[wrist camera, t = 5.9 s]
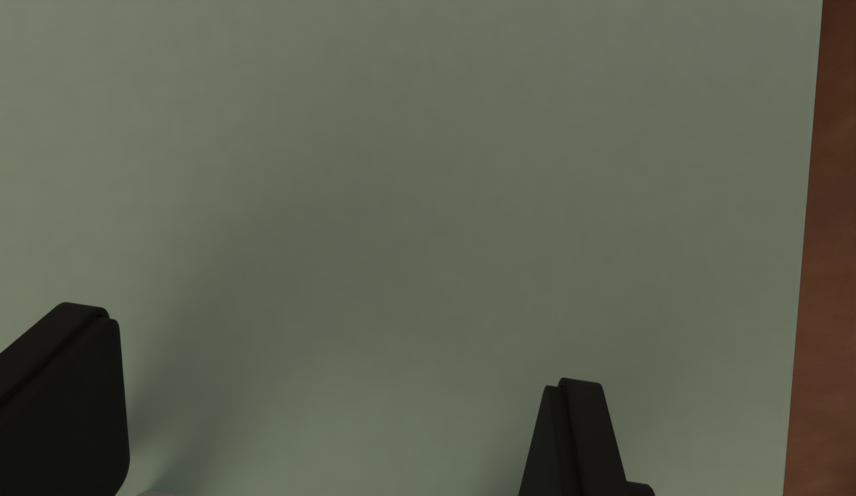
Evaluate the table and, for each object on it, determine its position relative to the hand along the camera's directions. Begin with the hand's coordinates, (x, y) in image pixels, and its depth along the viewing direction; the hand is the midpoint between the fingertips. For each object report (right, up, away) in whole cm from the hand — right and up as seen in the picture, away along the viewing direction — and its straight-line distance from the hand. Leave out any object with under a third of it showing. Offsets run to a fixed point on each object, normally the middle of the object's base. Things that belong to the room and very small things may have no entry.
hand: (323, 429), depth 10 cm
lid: (+1, +4, +2) cm, 4 cm away
